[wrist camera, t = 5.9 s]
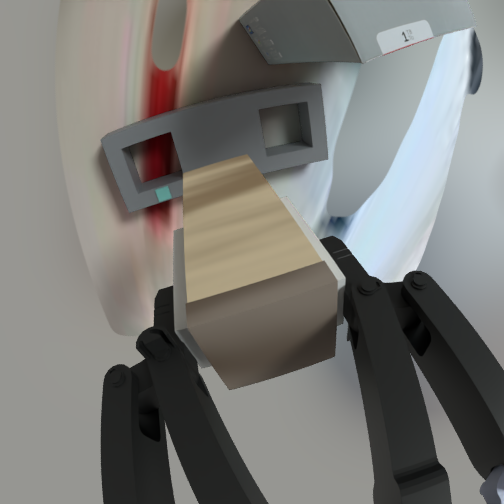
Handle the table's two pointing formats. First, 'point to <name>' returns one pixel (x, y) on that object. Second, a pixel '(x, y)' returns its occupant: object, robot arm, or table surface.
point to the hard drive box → (348, 27)
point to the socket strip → (218, 139)
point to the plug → (252, 277)
